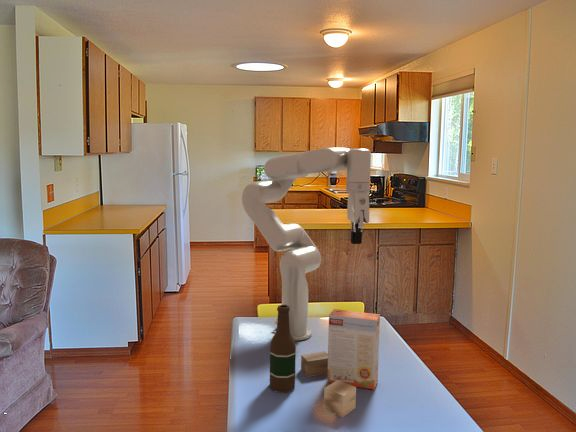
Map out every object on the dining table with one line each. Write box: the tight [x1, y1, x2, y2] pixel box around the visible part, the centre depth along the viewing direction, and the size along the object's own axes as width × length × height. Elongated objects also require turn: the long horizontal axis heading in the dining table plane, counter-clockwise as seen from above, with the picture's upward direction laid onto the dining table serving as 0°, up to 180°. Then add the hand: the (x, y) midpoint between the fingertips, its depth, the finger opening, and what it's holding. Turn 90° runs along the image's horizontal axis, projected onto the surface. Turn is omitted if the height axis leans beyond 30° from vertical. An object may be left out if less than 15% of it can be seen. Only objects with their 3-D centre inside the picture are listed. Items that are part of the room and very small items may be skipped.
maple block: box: [323, 380, 357, 418], centre depth 131 cm, size 6×6×6 cm
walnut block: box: [300, 351, 328, 377], centre depth 153 cm, size 5×8×5 cm, turn 111°
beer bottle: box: [269, 304, 297, 393], centre depth 141 cm, size 8×8×24 cm
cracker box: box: [327, 308, 381, 391], centre depth 145 cm, size 14×6×21 cm, turn 70°
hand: (356, 243), depth 162 cm, fingers closed
